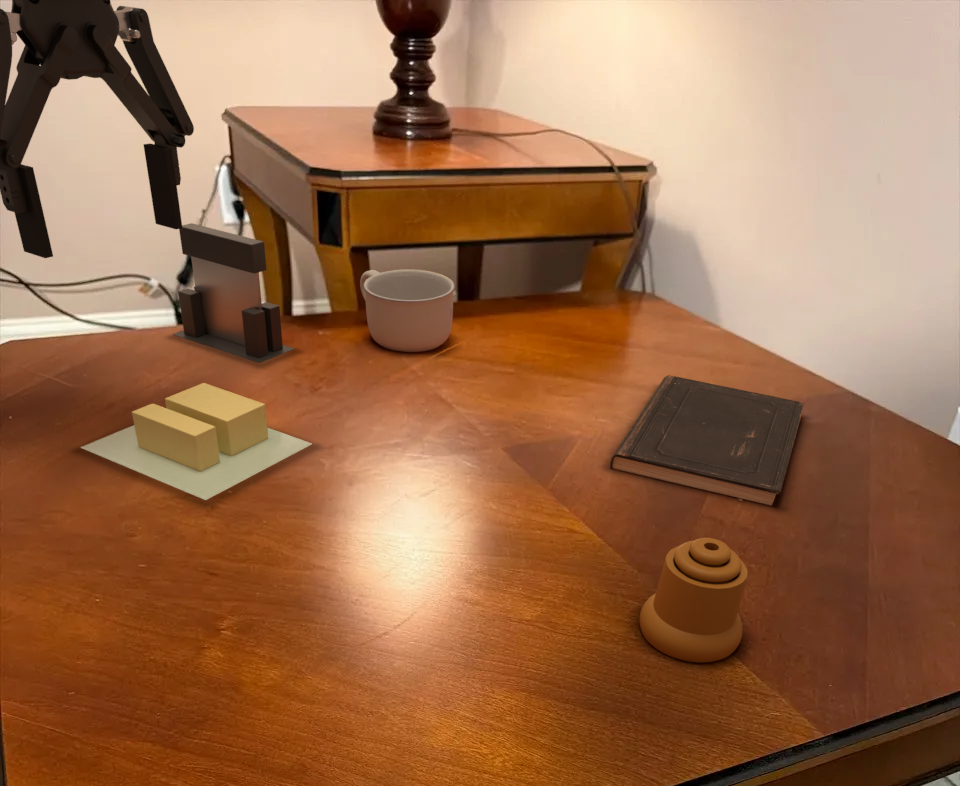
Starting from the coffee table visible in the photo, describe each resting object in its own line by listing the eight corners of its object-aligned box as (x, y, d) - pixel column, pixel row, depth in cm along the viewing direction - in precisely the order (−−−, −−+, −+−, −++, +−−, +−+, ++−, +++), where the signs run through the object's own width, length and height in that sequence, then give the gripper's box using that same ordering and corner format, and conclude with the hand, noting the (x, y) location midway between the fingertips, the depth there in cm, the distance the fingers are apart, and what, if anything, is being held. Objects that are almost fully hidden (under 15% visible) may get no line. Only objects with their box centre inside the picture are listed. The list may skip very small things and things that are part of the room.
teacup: (468, 355, 107) (472, 288, 102) (392, 369, 102) (392, 300, 97) (410, 321, 116) (411, 258, 111) (337, 332, 111) (335, 267, 106)
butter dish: (81, 457, 81) (79, 447, 80) (194, 409, 90) (193, 400, 90) (207, 510, 75) (205, 499, 74) (313, 452, 84) (312, 443, 84)
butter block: (170, 432, 84) (164, 398, 81) (208, 416, 87) (203, 382, 85) (231, 456, 81) (227, 421, 78) (268, 438, 84) (265, 403, 82)
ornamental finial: (705, 684, 60) (617, 636, 64) (755, 638, 65) (670, 596, 69) (733, 590, 56) (636, 544, 59) (785, 548, 60) (692, 507, 64)
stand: (173, 342, 105) (165, 291, 101) (210, 329, 109) (203, 280, 105) (260, 371, 99) (255, 318, 96) (295, 356, 104) (291, 305, 100)
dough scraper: (193, 332, 105) (178, 226, 97) (205, 328, 106) (191, 222, 99) (261, 354, 101) (251, 244, 93) (273, 350, 102) (264, 241, 95)
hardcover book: (798, 421, 98) (804, 402, 96) (773, 513, 81) (780, 491, 79) (660, 392, 102) (663, 373, 100) (608, 473, 85) (612, 452, 83)
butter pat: (138, 446, 81) (131, 411, 79) (158, 437, 83) (152, 402, 80) (200, 472, 78) (194, 435, 76) (220, 462, 80) (215, 426, 77)
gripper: (-93, -87, 52) (3, 278, 66) (215, -63, 69) (243, 223, 83) (-161, -93, 55) (-56, 257, 69) (151, -69, 72) (187, 208, 86)
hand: (107, 239), depth 76 cm, fingers open, 13 cm apart
